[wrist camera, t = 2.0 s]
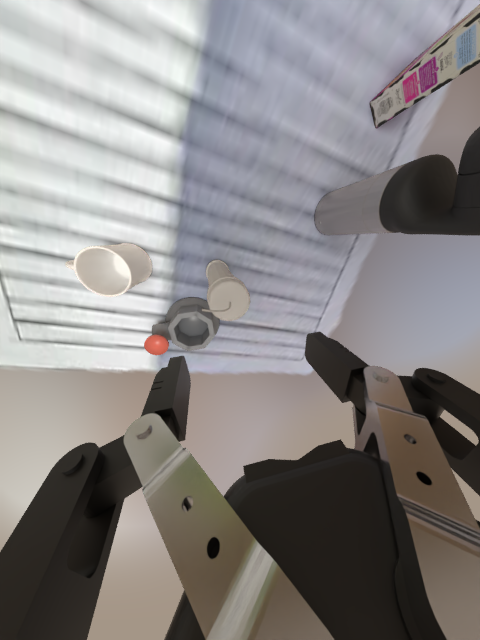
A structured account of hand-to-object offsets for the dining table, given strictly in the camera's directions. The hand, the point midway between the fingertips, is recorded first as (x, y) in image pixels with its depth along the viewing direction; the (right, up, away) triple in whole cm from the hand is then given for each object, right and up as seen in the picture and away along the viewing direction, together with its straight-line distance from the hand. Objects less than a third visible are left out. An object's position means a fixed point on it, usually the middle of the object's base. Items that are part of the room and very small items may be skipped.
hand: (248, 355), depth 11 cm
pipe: (-7, +15, +31) cm, 35 cm away
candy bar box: (+31, +48, +24) cm, 62 cm away
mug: (-27, +15, +27) cm, 41 cm away
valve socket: (-15, +2, +36) cm, 39 cm away
